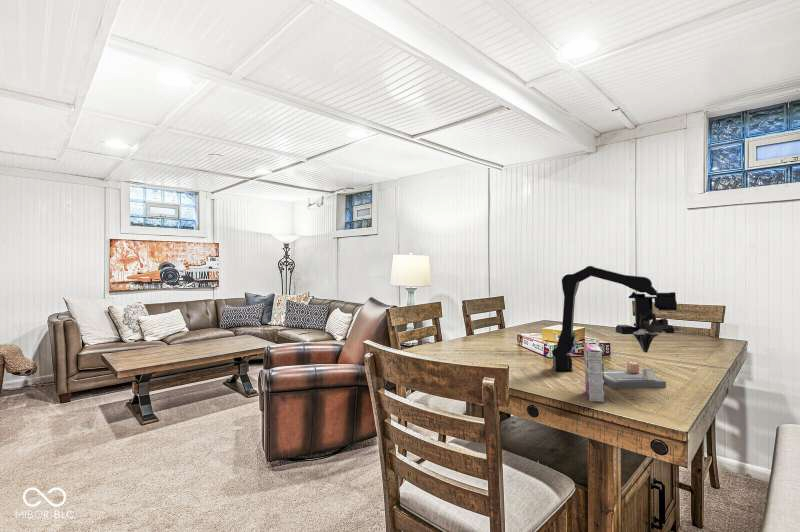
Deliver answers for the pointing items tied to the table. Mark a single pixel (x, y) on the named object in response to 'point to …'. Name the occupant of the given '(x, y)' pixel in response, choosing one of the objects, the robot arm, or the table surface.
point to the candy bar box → (594, 372)
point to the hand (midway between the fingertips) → (645, 352)
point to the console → (630, 380)
